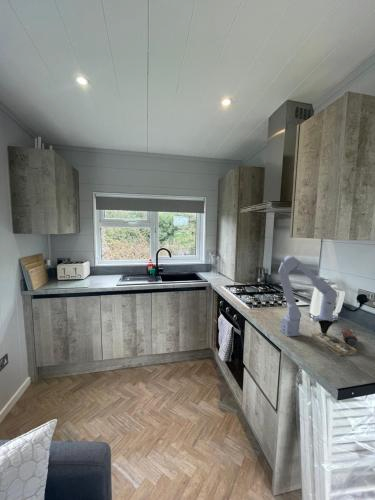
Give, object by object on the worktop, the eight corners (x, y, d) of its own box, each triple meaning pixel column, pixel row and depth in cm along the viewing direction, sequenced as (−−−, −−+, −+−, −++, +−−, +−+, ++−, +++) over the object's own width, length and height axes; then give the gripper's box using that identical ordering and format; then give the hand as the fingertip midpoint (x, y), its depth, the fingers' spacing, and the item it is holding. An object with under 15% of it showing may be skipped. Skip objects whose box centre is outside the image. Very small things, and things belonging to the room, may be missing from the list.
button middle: (334, 343, 112) (334, 340, 112) (329, 340, 115) (329, 337, 115) (339, 342, 113) (339, 339, 113) (333, 339, 116) (334, 336, 115)
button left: (323, 338, 118) (323, 335, 118) (318, 335, 121) (319, 332, 121) (327, 337, 119) (328, 335, 119) (323, 335, 122) (323, 332, 122)
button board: (339, 355, 104) (340, 351, 104) (311, 337, 121) (311, 333, 120) (355, 353, 107) (356, 348, 107) (326, 335, 123) (326, 331, 123)
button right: (346, 352, 106) (346, 349, 106) (340, 348, 109) (340, 345, 109) (350, 351, 107) (351, 348, 106) (345, 348, 110) (345, 345, 109)
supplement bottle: (349, 326, 120) (355, 335, 110) (356, 336, 119) (362, 346, 109) (338, 329, 123) (342, 339, 112) (344, 339, 122) (349, 350, 112)
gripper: (322, 312, 113) (318, 337, 114) (344, 311, 116) (341, 335, 118) (311, 307, 119) (308, 330, 121) (332, 306, 123) (329, 328, 125)
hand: (323, 332), depth 120 cm, fingers closed
